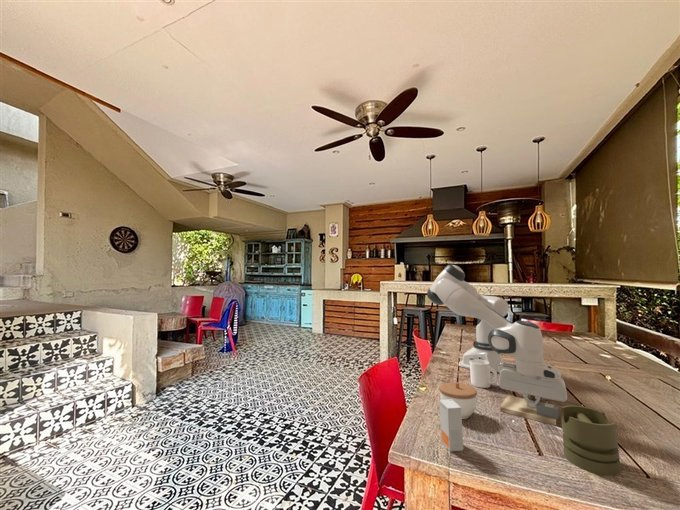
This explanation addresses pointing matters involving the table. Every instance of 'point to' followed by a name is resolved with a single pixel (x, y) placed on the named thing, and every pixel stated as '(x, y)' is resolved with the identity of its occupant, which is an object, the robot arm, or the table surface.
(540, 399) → the peg
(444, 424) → the skincare box
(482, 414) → the table surface
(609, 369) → the table surface
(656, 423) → the table surface
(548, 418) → the plank
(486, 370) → the mug
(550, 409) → the block
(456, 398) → the lidded bowl
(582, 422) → the piston
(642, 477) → the table surface
